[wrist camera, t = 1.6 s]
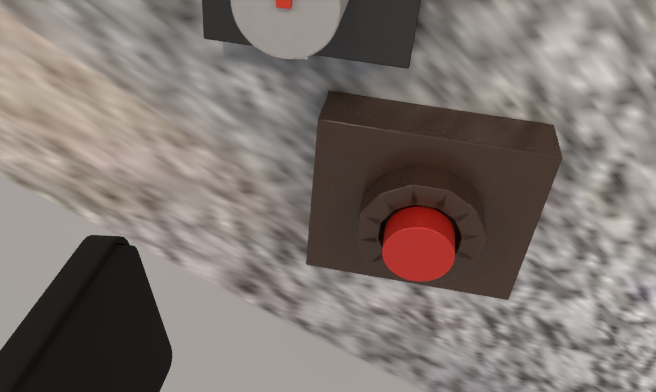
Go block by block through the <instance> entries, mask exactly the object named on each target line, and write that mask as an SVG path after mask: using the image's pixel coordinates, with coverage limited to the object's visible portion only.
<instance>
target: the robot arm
mask: <svg viewBox="0 0 656 392" xmlns="http://www.w3.org/2000/svg"><path fill="white" fill-rule="evenodd" d="M171 361H172V349H171V345H170V342H169V339H168V337H167V334H166V331H165V328H164V325H163V322H162V319H161V317H160V314H159V311H158V308H157V305H156V302H155V299H154V296H153V293H152V290H151V287H150V284H149V282H148V279H147V276H146V273H145V270H144V267H143V264H142V261H141V258H140V255H139V253H138V250H137V248H136V247H135V246H131V245H129V243H128V241H127V240H126V239H125V238H124V237H120V236H99V235H90V236H88V237H86V238H85V239H84V240H83V241H82V243H81V244H80V245H79V247H78V248H77V249H76V251H75V252H74V253H73V255H72V256H71V257H70V259H69V260H68V261H67V263H66V264H65V265H64V267H63V268H62V269H61V271H60V272H59V273H58V275H57V276H56V277H55V279H54V280H53V281H52V283H51V284H50V285H49V287H48V288H47V289H46V291H45V292H44V293H43V295H42V296H41V297H40V298H39V300H38V302H37V303H36V304H35V305H34V306H33V308H32V309H31V311H30V312H29V313H28V314H27V316H26V317H25V318H24V320H23V321H22V322H21V324H20V325H19V327H18V328H17V329H16V330H15V332H14V333H13V335H12V336H11V337H10V338H9V340H8V341H7V342H6V344H5V345H4V347H3V348H2V349H1V350H0V392H160V389H161V387H162V385H163V383H164V381H165V378H166V376H167V374H168V372H169V369H170V366H171Z"/></svg>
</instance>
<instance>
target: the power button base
mask: <svg viewBox="0 0 656 392" xmlns="http://www.w3.org/2000/svg"><path fill="white" fill-rule="evenodd" d="M561 160H562V154H561V150H560V146H559V143H558V139H557V136H556V132H555V128H554V125H550V124H544V123H537V122H531V121H524V120H517V119H511V118H504V117H498V116H491V115H484V114H478V113H471V112H465V111H458V110H451V109H445V108H438V107H432V106H425V105H418V104H412V103H405V102H399V101H392V100H385V99H379V98H372V97H366V96H359V95H352V94H346V93H339V92H333V91H329V92H328V94H327V97H326V99H325V102H324V105H323V108H322V111H321V113H320V116H319V119H318V128H317V140H316V152H315V164H314V176H313V188H312V200H311V212H310V224H309V237H308V249H307V261H306V264H307V265H312V266H318V267H324V268H329V269H335V270H341V271H346V272H352V273H358V274H363V275H369V276H375V277H380V278H386V279H392V280H398V281H403V282H409V283H415V284H420V285H426V286H432V287H437V288H443V289H449V290H454V291H460V292H466V293H472V294H477V295H483V296H489V297H494V298H500V299H506V300H508V299H509V297H510V294H511V291H512V289H513V286H514V283H515V281H516V278H517V276H518V273H519V270H520V268H521V265H522V262H523V260H524V257H525V255H526V252H527V249H528V247H529V244H530V241H531V239H532V236H533V234H534V231H535V228H536V226H537V223H538V220H539V218H540V215H541V213H542V210H543V207H544V205H545V202H546V199H547V197H548V194H549V192H550V189H551V186H552V184H553V181H554V178H555V176H556V173H557V171H558V168H559V165H560V163H561ZM415 206H422V207H428V208H432V209H435V210H437V211H439V212H441V213H442V214H444V215H445V216H446V217H447V218H448V219H449V220H450V222H451V223H452V225H453V227H454V231H455V260H454V263H453V265H452V267H451V268H450V270H449V271H448V272H447V273H446V274H444V275H443V276H441V277H439V278H437V279H434V280H431V281H422V282H419V281H411V280H407V279H404V278H401V277H399V276H397V275H396V274H394V273H393V272H392V271H391V270H390V269H389V268H388V267H387V266H386V264H385V262H384V260H383V256H382V248H383V241H384V234H385V227H386V224H387V222H388V221H389V219H390V218H391V217H392V216H393V215H394V214H395V213H397V212H398V211H400V210H402V209H405V208H408V207H415Z"/></svg>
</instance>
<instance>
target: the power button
mask: <svg viewBox="0 0 656 392" xmlns="http://www.w3.org/2000/svg"><path fill="white" fill-rule="evenodd" d="M382 256H383V260H384V262H385V264H386V266H387V267H388V268H389V269H390V270H391V271H392V272H393V273H394V274H396V275H397V276H399V277H401V278H404V279H407V280H411V281H419V282H422V281H431V280H434V279H437V278H439V277H441V276H443V275H444V274H446V273H447V272H448V271H449V270H450V268H451V267H452V265H453V263H454V260H455V231H454V227H453V225H452V223H451V222H450V220H449V219H448V218H447V217H446V216H445V215H444V214H442V213H441V212H439V211H437V210H435V209H432V208H428V207H422V206H415V207H408V208H405V209H402V210H400V211H398V212H397V213H395V214H394V215H393V216H392V217H391V218H390V219H389V221H388V222H387V224H386V227H385V234H384V241H383V248H382Z"/></svg>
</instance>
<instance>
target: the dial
mask: <svg viewBox="0 0 656 392" xmlns="http://www.w3.org/2000/svg"><path fill="white" fill-rule="evenodd" d="M348 1H349V0H231V8H232V13H233V16H234V19H235V22H236V24H237V26H238V28H239V29H240V31H241V33H242V34H243V35H244V36H245V38H246V39H247V40H248V41H249V42H250V43H251V44H252V45H253V46H255V47H256V48H257V49H259V50H260V51H262V52H264V53H266V54H268V55H270V56H273V57H276V58H281V59H300V58H305V57H308V56H311V55H313V54H315V53H317V52H318V51H320V50H321V49H323V48H324V47H325V46H326V45H327V44H328V43H329V42H330V40H331V39H332V37H333V36H334V34H335V32H336V30H337V28H338V26H339V23H340V21H341V18H342V16H343V13H344V11H345V9H346V6H347V4H348Z"/></svg>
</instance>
